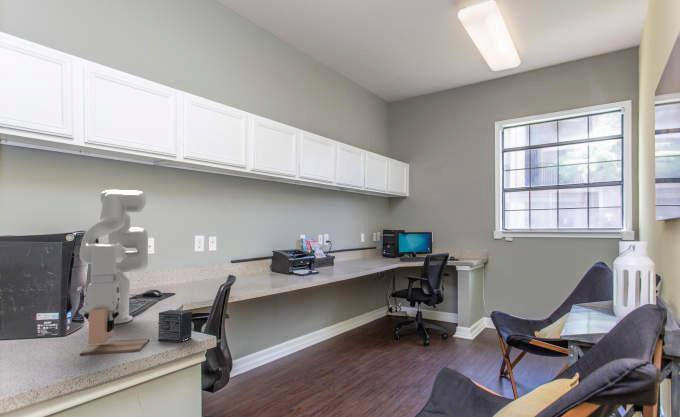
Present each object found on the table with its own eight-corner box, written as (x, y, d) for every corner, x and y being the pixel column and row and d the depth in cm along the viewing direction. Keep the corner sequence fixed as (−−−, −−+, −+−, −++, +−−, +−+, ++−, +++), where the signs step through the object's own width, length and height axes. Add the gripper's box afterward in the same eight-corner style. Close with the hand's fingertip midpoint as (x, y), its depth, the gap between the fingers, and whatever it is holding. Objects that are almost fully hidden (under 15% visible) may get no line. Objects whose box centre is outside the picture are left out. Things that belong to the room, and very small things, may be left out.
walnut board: (95, 344, 133) (95, 341, 133) (149, 340, 137) (149, 338, 137) (79, 355, 121) (80, 352, 121) (139, 351, 125) (139, 348, 125)
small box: (192, 338, 140) (193, 310, 141) (180, 343, 134) (181, 314, 135) (169, 335, 143) (170, 308, 144) (157, 340, 137) (157, 312, 138)
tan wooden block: (99, 336, 132) (100, 305, 132) (113, 335, 133) (114, 304, 133) (88, 343, 123) (89, 310, 124) (103, 343, 124) (104, 310, 125)
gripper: (133, 277, 135) (131, 327, 134) (81, 278, 131) (79, 330, 130) (126, 280, 127) (124, 333, 126) (71, 281, 124) (68, 336, 123)
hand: (101, 331), depth 128 cm, fingers closed on tan wooden block, 4 cm apart
